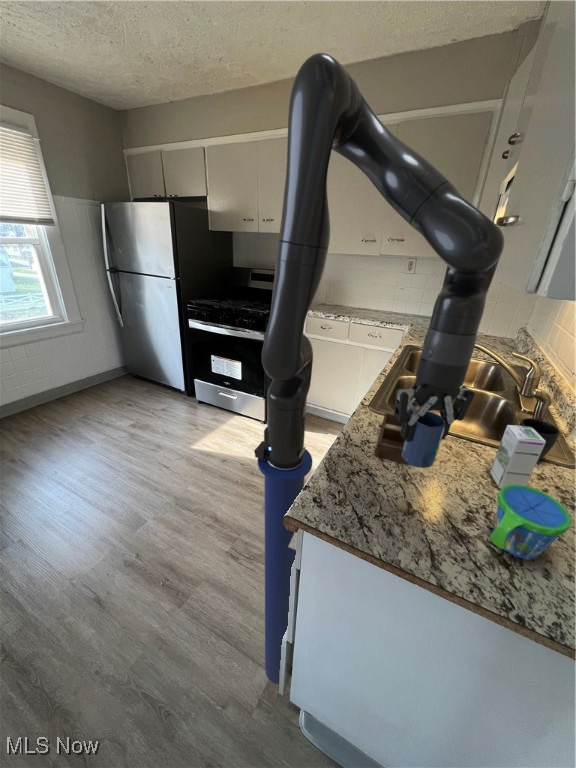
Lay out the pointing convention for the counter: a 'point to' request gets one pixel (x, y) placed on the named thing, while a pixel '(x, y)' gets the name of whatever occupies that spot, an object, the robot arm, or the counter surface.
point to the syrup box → (516, 456)
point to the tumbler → (424, 440)
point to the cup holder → (391, 439)
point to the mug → (542, 433)
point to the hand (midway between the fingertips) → (422, 438)
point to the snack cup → (527, 521)
